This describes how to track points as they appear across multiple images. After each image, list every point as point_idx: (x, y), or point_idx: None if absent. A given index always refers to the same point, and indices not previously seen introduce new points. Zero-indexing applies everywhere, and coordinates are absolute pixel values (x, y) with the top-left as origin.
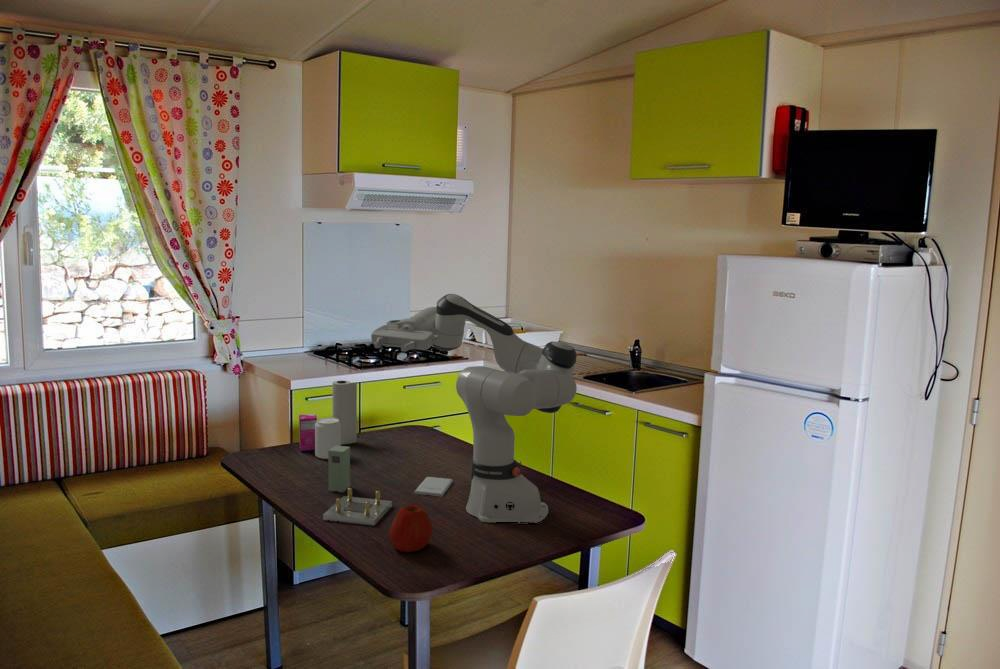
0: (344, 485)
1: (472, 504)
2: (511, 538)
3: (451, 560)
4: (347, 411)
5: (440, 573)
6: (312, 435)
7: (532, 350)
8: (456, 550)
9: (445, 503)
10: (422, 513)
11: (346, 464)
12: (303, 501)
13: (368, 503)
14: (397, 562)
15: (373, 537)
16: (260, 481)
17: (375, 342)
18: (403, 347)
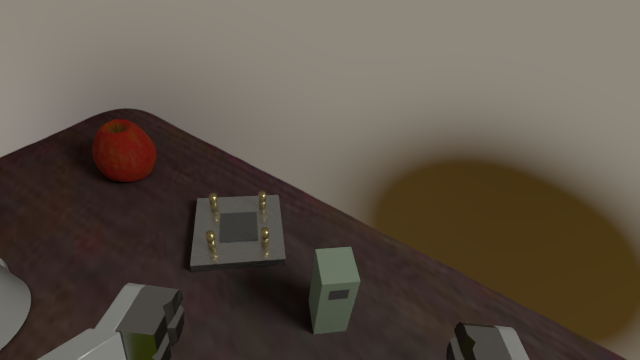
0: (310, 299)
1: (10, 275)
2: None
3: (72, 156)
4: None
5: (87, 135)
6: None
7: None
8: (64, 176)
9: (79, 320)
10: (100, 127)
11: (315, 285)
12: (346, 244)
13: (210, 195)
14: None
15: (188, 179)
16: (480, 294)
17: (507, 332)
18: (147, 287)
